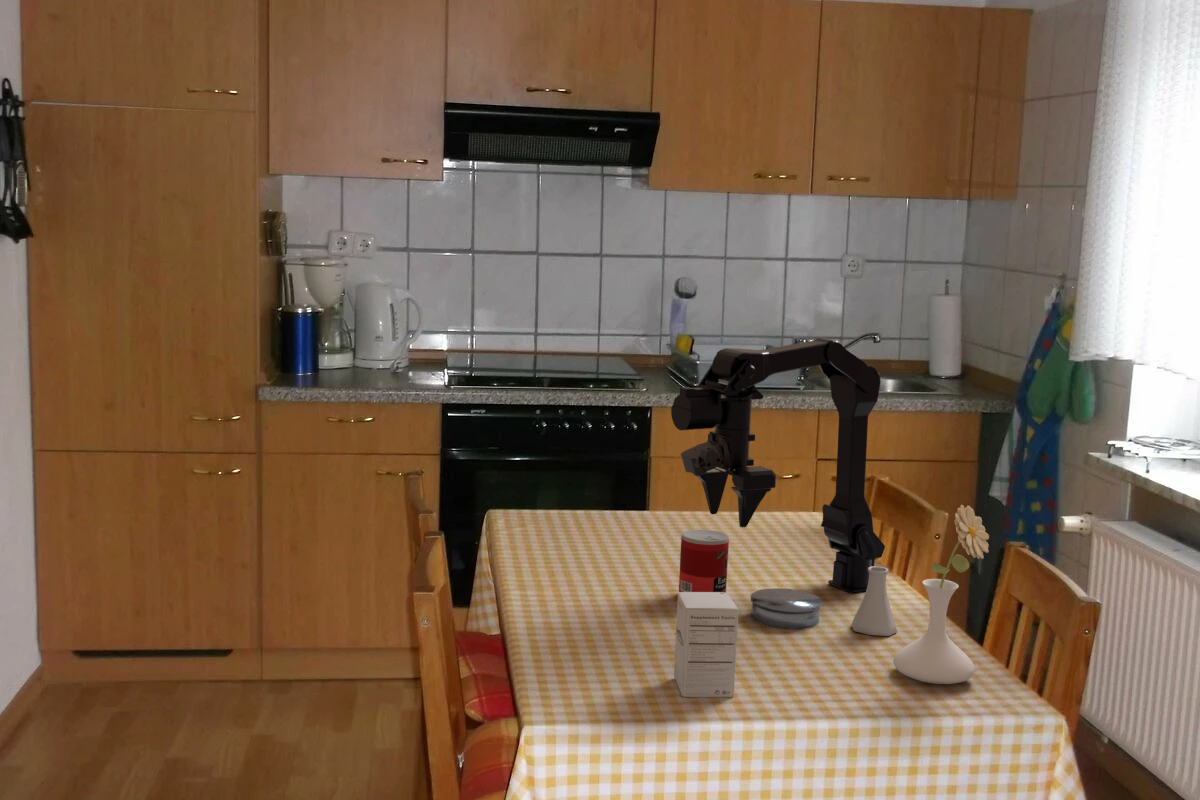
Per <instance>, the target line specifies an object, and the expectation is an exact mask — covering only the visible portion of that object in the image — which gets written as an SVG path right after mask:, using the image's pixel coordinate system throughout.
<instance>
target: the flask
mask: <svg viewBox="0 0 1200 800" xmlns="http://www.w3.org/2000/svg"><path fill="white" fill-rule="evenodd" d="M868 572H869V582H868V586H867V590H866V591H865V593H864V595H863V597H862V600H861V603H860V604H859V607H858V609H857V611H856V614H855V615H854V616H853V620H852V622H851V624H850V626H851V627H852V630H853V631H854V632H857V633H861V634H865V635H869V636H883V637H884V636H885V637H886V636H887V637H890V636H892V635H894V634H895V633H898V629H897V626H896V621H895V618H894V615H893V612H892V608H891V603H890V600H889V596H888V592H887V575H888V574H889V569H888V568H887V567H883V566H875V565H874V566H871V567H869V568H868Z"/></svg>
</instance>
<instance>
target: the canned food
mask: <svg viewBox="0 0 1200 800" xmlns="http://www.w3.org/2000/svg"><path fill="white" fill-rule="evenodd" d="M729 538H730V537H729V535H727V534H726V533H723V532H720V531H717V530H709V529H689V530H686V531H683V532H682V533H681V537H680V556H679V557H680V558H679V577H678V579H679V580H678V581H679V582H678V592H724V593H727V582H728V581H727V580H728V578H727V577H728V564H729V563H728V560H729V547H730V546H729V544H730V543H729V542H730V539H729Z"/></svg>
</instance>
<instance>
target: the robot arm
mask: <svg viewBox="0 0 1200 800" xmlns="http://www.w3.org/2000/svg"><path fill="white" fill-rule="evenodd" d="M816 366H817V367H818V368H819V370H820V373H821V374H823V375H824V377H825V378H827V379H828V381H829V383H830V394H831V400H832V403H834V406H835V408H836V410H837V412H838V413H837V414H838V427H837V428H838V429H837V430H838V435H837V454H836V455H837V456H836V473H835V474H836V480H835V495H834V496H833V498H832V500H831V501H830V503H829V504H825V503H824V504H823V505H822V507H821V508H822V521H821V525H820V526H821V528H823V532H824V535H825V536H826V538H827V539H828V543H829V548H831V550H837V551H835V560H834V561H833V571H832V579H830V580H828V584H829V585H831V586H834V587H836V588H838V589H840V590H843V591H845V592H847V593H849V594H850V593H851V594H852V593H853V594H854V593H859V592H860V593H861V592H866V590H867V586H868V582H869V572H868V568H869V567H871V566H875V560H876V559H879V558H882V556H883V554H884V551H885V548H886V545H885V544H884V542H883V541H882V540H881V539H880V538H879V537H878V535H877V534H876V533H875V532H874V524H873V523H874V522H873V521H874V520H873V514H872V510H871V509H870V507H869V504H868V502H867V500H866V495H865V489H866V488H865V487H866V470H867V468H866V467H867V452H868V451H867V447H868V425H869V424H868V423H869V417H870V414H871V412H872V411H873V410H874V407H875V405H876V404H877V402H878V398H879V393H880V388H881V383H882V381H881V375H880V372H878V370H877V369H876V367H873V366H871V365H867V363H866V362H865V361H863V360H862V359H861V358H859V357H857V356H856V355H855V354H854V353H852V352H850V351H848V350H847V349H846V347H845V346H843V345H842V344H841V342H839V341H838V340H836V339H829V338H824V337H819V338H816V339H813V340H809V341H803V342H799V343H793V344H786V345H781V346H776V347H771V348H766V349H765V348H764V349H748V348H747V349H746V348H730V347H729V348H728V347H726V348H725V347H724V348H723V349H720V350H718V351H717V352H716V355H715V356H714V358H713V361H712V364H711V365H710V367H709V368H708V370H707V371H706V372H705V374H704V375H703V377H702V378H701V380H700V382H699V383H698V385H697V387H688V386H680V388H679V394H678V395H677V396H676V397H675V398H674V400H673V403H672V405H671V410H670V413H671V419H672V423H673V425H674V427H675V428H676V429H677V430H679V431H690V430H691V431H693V430H706V429H714V430H711V431H709V433H708V434H707V441H704V442H703V443H699V444H697V445H695V446H692V447H690V448H688V449H686V450H684V451H682V452H681V453H680V457H681V459H682V464H683V467H684V472H686V473H690V474H692V475H693V476H695V477H696V478H697V479H698V480H699V481H700V482H701V484H702V487H703V491H704V494H705V499H706V503H707V505H708V511H709V514H710V515H717V514H718V512H719V508H720V505H721V502H722V498H723V494H724V491H725V487H726V484H727V480H728V477H729V476H732V477H731V482H732V484H733V486H731V487H730V488H731V489H732V491H733V492H734V493H735V495H736V496H737V504H738V505H737V506H738V507H737V508H738V524H739V527H740V528H747V526H748V525H749V523H750V521H751V520H752V517H753V516H754V514H755V512H756V511H757V508H758V506H759V505H760V503H761V502H762V501H763V499H764V498H765V496H766V494H767V493H769V492H771V491H772V489H775V488H776V487H777V477H778V476H777V474H776V473H775V472H774V470H772V469H769V468H768V467H765V466H761V465H758V466H756V465H755V464H754V463H755V459H753V458H751V457H750V442H756V434H755V433H752V432H751V422H752V403H753V402H752V401H754V400H763V399H764V394H763V393H762V392H760V391H759V390H758V389H757V387H756V385H758V384H761V383H762V382H764V381H765V380H767V379H768V378H769V377H770V376H772V375H775V374H781V373H785V372H791V371H797V370H800V369H806V368H812V367H816Z"/></svg>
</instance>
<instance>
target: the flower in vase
mask: <svg viewBox="0 0 1200 800" xmlns="http://www.w3.org/2000/svg"><path fill="white" fill-rule="evenodd" d="M954 516H955V519H954V525H955V530H956V533H957V534H958V535H957V539H958V540H957V542H956V544H955V545H954V547H953V549H952V552H951V554H950V557H949V560H948V562H947V565H946V567H944V566H942V565H940V564H939V563H937V562H936V561H935V562H934V563H933V565H932V566H931V568H930V571H933V572H935V573H939V574H943V575H942V578H928V579H924V580H922V581H921V584H922V585H923V587H924V588H925V590H926V593H927V596H928V601H929V602H928V603H929V622H928V627H927V630H926V632H925V633H924V634H923V635H922V636H920V637H919V638H918V639H915V640H914V641H912V642H911V643H909V644H907V645H905V646H904V647H902V648H901V649H900V650H899V651H898V652H897V653H896V654H895V655H894V658H893V660H892V663H893V665H894V667H895V669H896V670H897V671H898V672H899V673H901V674H902V675H904V676H906V677H908V678H909V679H912V680H916V681H919V682H922V683H928V684H934V685H935V684H936V685H937V684H938V685H952V684H953V685H954V684H958V683H964V682H966V681H969V680H970V679H971V678H972V677H973V676H974V675H975V673H976V668H975V665H974V663H973V662H972V660H971V659H970V658H969V657H968V655H967V654H966V653H965V652H964V651H963V650H962V649H960V647H958V646H957V645H956V644H955V643H954V642H953V641H952V640H951V639H950V638H949V636H948V634H947V632H946V631H947V630H946V629H947V628H946V619H947V613H948V607H949V604H950V600H951V598H952V596H953V594H954V593H955V592H956V590H957V589H959V584H958V583H957V582H954V581H951V580H949V579H946V576H947V574H948V573H949V572H950V571H951V569H950V566H951V565H952V566H953V568H954V569H955V570H956V571H957V572H958V573H965V572H966V571H967V570H968V569H969V568H970V563H969V561H968V559H967V558H966V557H964V556H963V555H961V554H957V553H956V551H957V549H958V547H959V545H960V544H961V546H962V547H963V549H964V550H965V552H966V553H967V555H969V556H970V555H971V556H972V557H973V558H974V559H976V558H977V559H979V560H982V559H984V557H985V556H984V553H986V554H988V553H989V543H988V541H987V540H989V538H990V534H988V533H987V532H986V528H985V526H984V525H983V524H982V523H983V520H982V517H981V516H977V515H976V514H975V510H974V508H972V507H971V506H970V505H967V506H966V507H965V505H963V504H961V505H959V507H958V508H957V511H956V512H955V514H954ZM955 553H956V554H955ZM980 558H981V559H980Z"/></svg>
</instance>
